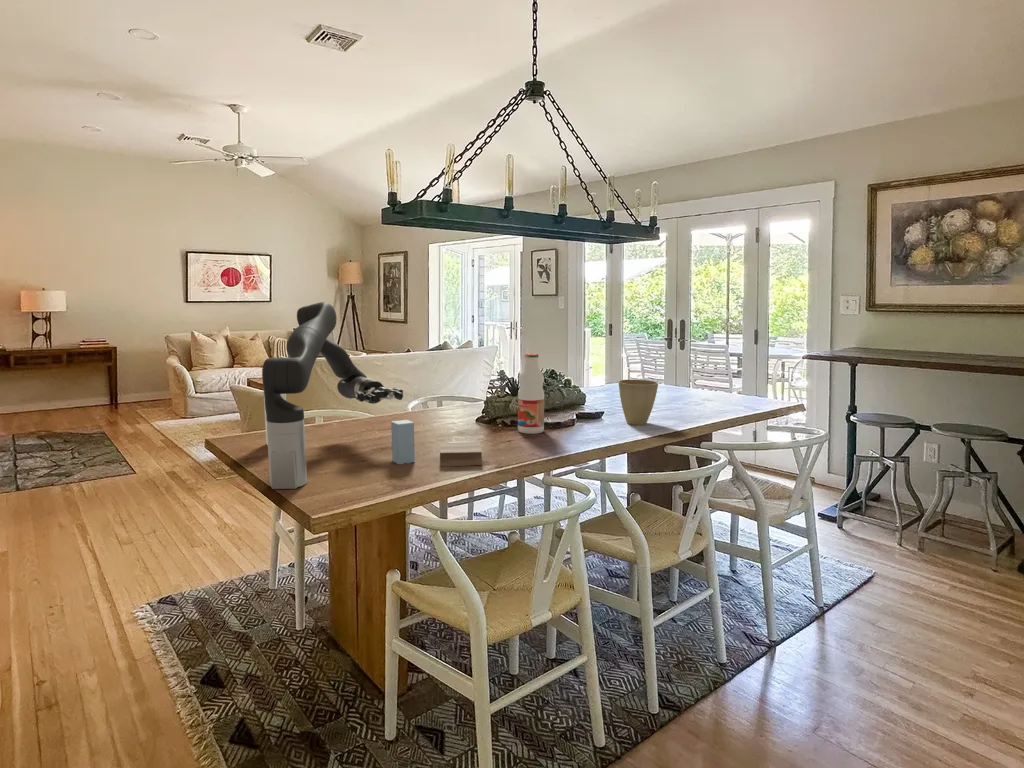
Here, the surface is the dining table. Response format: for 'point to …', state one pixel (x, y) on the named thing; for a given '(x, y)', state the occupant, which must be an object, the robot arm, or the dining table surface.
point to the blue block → (403, 441)
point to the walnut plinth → (460, 454)
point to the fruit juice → (531, 397)
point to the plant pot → (637, 399)
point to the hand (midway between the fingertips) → (387, 397)
